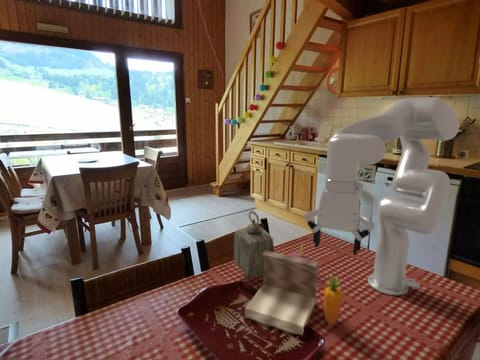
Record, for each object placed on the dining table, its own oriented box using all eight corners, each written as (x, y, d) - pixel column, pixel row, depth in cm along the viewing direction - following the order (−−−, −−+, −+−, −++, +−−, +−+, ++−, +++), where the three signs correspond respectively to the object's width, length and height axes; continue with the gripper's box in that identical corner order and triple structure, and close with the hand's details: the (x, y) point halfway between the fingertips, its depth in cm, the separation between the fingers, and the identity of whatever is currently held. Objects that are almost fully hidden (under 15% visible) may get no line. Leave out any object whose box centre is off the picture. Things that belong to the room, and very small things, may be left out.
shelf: (315, 304, 93) (318, 261, 90) (302, 336, 80) (305, 286, 77) (264, 289, 101) (265, 249, 98) (245, 317, 87) (245, 271, 84)
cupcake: (311, 269, 114) (312, 240, 112) (303, 279, 107) (304, 248, 105) (290, 263, 119) (291, 235, 116) (281, 272, 112) (282, 242, 109)
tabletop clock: (273, 285, 104) (275, 216, 98) (249, 291, 100) (250, 220, 94) (253, 266, 116) (254, 204, 111) (232, 271, 113) (232, 207, 107)
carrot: (340, 333, 81) (345, 283, 78) (321, 330, 82) (325, 281, 79) (338, 321, 86) (342, 273, 82) (320, 318, 87) (324, 271, 83)
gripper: (379, 186, 75) (372, 250, 78) (310, 179, 82) (307, 237, 86) (377, 193, 68) (370, 262, 72) (302, 185, 76) (299, 247, 79)
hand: (335, 248), depth 79 cm, fingers open, 9 cm apart
